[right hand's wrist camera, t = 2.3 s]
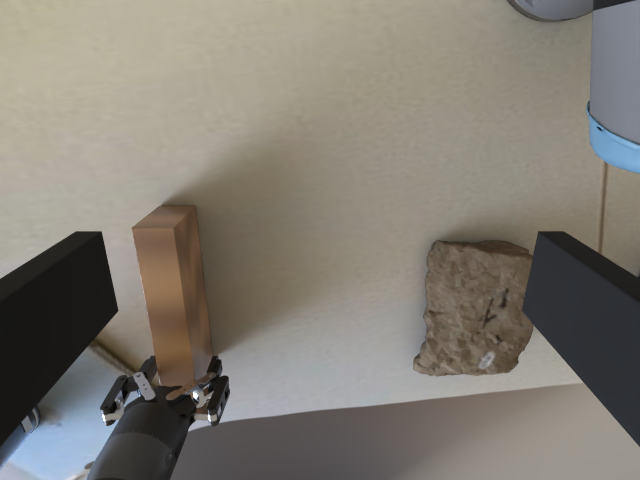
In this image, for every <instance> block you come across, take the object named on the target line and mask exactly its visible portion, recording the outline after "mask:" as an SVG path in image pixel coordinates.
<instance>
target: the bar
mask: <svg viewBox="0 0 640 480" xmlns="http://www.w3.org/2000/svg"><path fill="white" fill-rule="evenodd" d="M132 232H133V238H134V243H135V249H136V254H137V260H138V265H139V271H140V276H141V282H142V287H143V292H144V298H145V303H146V309H147V314H148V320H149V325H150V331H151V336H152V342H153V347H154V353H155V358H156V364H157V369H158V375H159V380H160V386H168V387H172V386H184V385H186V384H188V383H189V382H191V381H192V380H194V379H196V380H199V379H200V378H202V377H203V376H205V375H207V374H206V371H207V369H208V366H209V364H210V361H211V359H212V356H213V351H212V343H211V334H210V326H209V317H208V309H207V300H206V292H205V284H204V275H203V267H202V258H201V250H200V241H199V233H198V224H197V216H196V207H195V206H159V207H158V208H156V209H155V210H154V211H152V212H151V213H150V214H149V215H147V216H146V217H145V218H144V219H142V220H141V221H140V222H139V223H137V224H136V225H135V226H133V227H132ZM190 396H191V397H192V398H193V397H194V396H193V392H192V393H190Z"/></svg>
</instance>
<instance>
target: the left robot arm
mask: <svg viewBox="0 0 640 480" xmlns="http://www.w3.org/2000/svg"><path fill="white" fill-rule="evenodd" d="M157 370H158V369H157V364H156V358H155V356H151V357H150V359H147V360H146V361H145V362H144V363H143V365H142V367H141V368H140V370H139V371H138V372H137V373H135V374H134V375H133V376H132V377H128V378H127V376H126V375H122V376H120V377H118V378H117V380H116V381H115V383H114V385H113V387H112V388H111V390H110V392H109V393H108V395H107V397H106V398H105V400H104V402H103V403H102V405H101V407H100V409H101V413H102V417H103V421H104V425H106V426H109V425H112V424H113V423H114V422H115V421H116V420H118V419H120V420H119V422H118V423H117V425H116V427H115V428H114V430H113V432H112V434H111V435H110V437H109V439H108V440H107V442H106V444H105V445H104V447H103V449H102V450H101V452H100V454H99V455H98V457H97V458H96V460H95V462H94V464H93V466H92V468H91V469H90V472H89V474H88V476H87V479H86V480H170V478H171V475H172V472H173V470H174V467H175V465H176V462H177V459H178V457H179V454H180V452H181V449H182V446H183V444H184V441H185V438H186V435H187V432H188V429H189V427H190V426H191V424H192V423H194V422H195V421H196V420H209V425H210V426H216V425H218V423H219V421H220V419H221V416H222V413H223V411H224V408H225V405H226V403H227V400H228V397H229V395H230V389H229V378H228V376H221V373H222V362H221V360H219V358H218V356H212V359H211V361H210V364H209V366H208V369H207V371H206V374H207V375H205V376H203V377H202V378H200V379H199V380H196V379H194V380H192V381H191V382H189V383H188V384H186V385H184V386H172V387H168V386H157V387H156V388H153V389H152V388H151V386H150V383H151V381H152V379H153V377H154V376H155V374H156V372H157ZM220 376H221V377H220ZM206 385H207V387H206V388H205V389H204V390H203V388H204V387H205V386H206ZM132 391H136V392H137V394H138V396H139V397H138V398H137V399H135V400H134V401H132V402H130V403H129V404H128V405H127V406H126V407H124V404H125V402H126V400H127V398H128V396H129V394H130V392H132ZM192 392H193V396H194V397H193V399H192V397H191V396H190V393H192ZM211 395H212V396H211ZM210 396H211V399H207V398H208V397H210ZM206 399H207V400H206ZM205 400H206V403H205V404H204V402H205ZM203 404H204V405H203ZM202 405H203V406H202ZM200 406H202V407H200ZM199 407H200V408H199ZM39 420H40V416H39V412H38V410H37V408H36V406H35V407H34V409H33V410H32V411H31V412H30V413H29V414H28V415H27V417H26V418H25V419H24V420H23V421H22V422H21V423H20V425H19V426H18V427H17V428H16V429H15V430H14V432H13V433H12V434H11V435H10V436H9V437H8V438H7V440H6V441H5V442H4V443H3V444H2V445H1V446H0V470H1V469H2V467H3V466H4V465H5V464H6V463H7V461H8V460H9V459H10V458H11V456H12V455H13V454H14V453H15V452H16V450H17V449H18V448H19V447H20V446H21V444H22V443H23V442H24V441H25V439H26V438H27V437H28V436H29V434H30V433H32V432H33V431H34V429H35V428H36V427H37V425H38V424H39Z"/></svg>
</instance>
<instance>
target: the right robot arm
mask: <svg viewBox="0 0 640 480" xmlns="http://www.w3.org/2000/svg"><path fill="white" fill-rule="evenodd" d="M507 1H508V2H509V3H510V4H511V6H513V7H514V8H515V9H516V10H517V11H518V12H520V13H521V14H523V15H524V16H526V17H528V18H531V19H533V20H537V21H542V22H560V21H566V20H570V19H574V18H578V17H581V16H584V15H586V14H589V13H591V12H593V16H592V49H591V82H590V101H589V102H588V104H587V110H586V111H587V114H588V118H589V129H590V144H591V146H592V148H593V150H594V152H595V153H596V155H597V156H598V157H599V158H601V159H602V160H604V161H605V162H607V163H609V164H611V165H613V166H615V167H618V168H621V169H624V170H627V171H631V172H635V173H640V0H507ZM117 312H118V307H117V302H116V297H115V292H114V288H113V283H112V278H111V274H110V269H109V264H108V259H107V255H106V250H105V245H104V241H103V236H102V231H76V232H75V233H73V234H71V235H70V236H68V237H67V238H65V239H63V240H62V241H60V242H59V243H57V244H55V245H54V246H52V247H51V248H49V249H47V250H46V251H44V252H43V253H41V254H39V255H38V256H36V257H35V258H33V259H31V260H30V261H28V262H27V263H25V264H23V265H22V266H20V267H19V268H17V269H15V270H14V271H12V272H11V273H9V274H7V275H6V276H4V277H3V278H1V279H0V446H1V445H2V444H3V443H4V442H5V441H6V440H7V438H8V437H9V436H10V435H11V434H12V433H13V432H14V430H15V429H16V428H17V427H18V426H19V425H20V423H21V422H22V421H23V420H24V419H25V418H26V417H27V415H28V414H29V413H30V412H31V411H32V410H33V409H34V407H35V406H36V405H37V404H38V403H39V402H40V400H41V399H42V398H43V397H44V396H45V395H46V394H47V392H48V391H49V390H50V389H51V388H52V387H53V386H54V384H55V383H56V382H57V381H58V380H59V379H60V377H61V376H62V375H63V374H64V373H65V372H66V371H67V369H68V368H69V367H70V366H71V365H72V364H73V363H74V361H75V360H76V359H77V358H78V357H79V356H80V354H81V353H82V352H83V351H84V350H85V349H86V348H87V346H88V345H89V344H90V343H91V342H92V341H93V340H94V338H95V337H96V336H97V335H98V334H99V333H100V331H101V330H102V329H103V328H104V327H105V326H106V325H107V323H108V322H109V321H110V320H111V319H112V318H113V317H114V315H115V314H116V313H117ZM522 312H523V313H524V314H525V315H526V317H527V318H528V319H529V320H530V321H531V322H532V323H533V325H534V326H535V327H536V328H537V329H538V330H539V331H540V333H541V334H542V335H543V336H544V337H545V338H546V340H547V341H548V342H549V343H550V344H551V345H552V346H553V348H554V349H555V350H556V351H557V352H558V353H559V354H560V356H561V357H562V358H563V359H564V360H565V361H566V363H567V364H568V365H569V366H570V367H571V368H572V369H573V371H574V372H575V373H576V374H577V375H578V376H579V377H580V379H581V380H582V381H583V382H584V383H585V384H586V386H587V387H588V388H589V389H590V390H591V391H592V392H593V394H594V395H595V396H596V397H597V398H598V399H599V400H600V402H601V403H602V404H603V405H604V406H605V407H606V409H607V410H608V411H609V412H610V413H611V414H612V415H613V417H614V418H615V419H616V420H617V421H618V422H619V423H620V425H621V426H622V427H623V428H624V429H625V430H626V431H627V433H628V434H629V435H630V436H631V437H632V438H633V440H634V441H635V442H636V443H637V444H638V445H639V446H640V279H639V278H637V277H636V276H634V275H633V274H631V273H629V272H628V271H626V270H625V269H623V268H621V267H620V266H618V265H617V264H615V263H613V262H612V261H610V260H609V259H607V258H605V257H604V256H602V255H601V254H599V253H597V252H596V251H594V250H593V249H591V248H589V247H588V246H586V245H585V244H583V243H581V242H580V241H578V240H577V239H575V238H573V237H572V236H570V235H569V234H567V233H565V232H564V231H538V236H537V241H536V245H535V250H534V255H533V259H532V264H531V269H530V274H529V278H528V283H527V288H526V292H525V297H524V302H523V307H522Z"/></svg>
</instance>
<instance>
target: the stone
mask: <svg viewBox="0 0 640 480" xmlns="http://www.w3.org/2000/svg"><path fill="white" fill-rule="evenodd" d="M532 259H533V256H532V255H530V254H529V250H527V249H525V248H522V247H519V246H516V245H513V244H511V243H509V242H504V241H484V242H479V243H469V242H447V241H440V240H438V241H436V242H435V243H433V245H432V249H431V250H430V251H429V254H428V257H427V267H428V269H429V272H428V273H427V275H426V279H425V287H426V299H427V307H426V310H425V313H424V315H423V318H424V320H425V322H426V324H427V332H426V337H425V338H426V341H425V342H424V343H423V344H422V346H421V349H420V354H418V355H417V356H416V357H415V358H414V363H413V369H414V370H415V371H417V372H419V373H422V374H428V375H430V376H431V375H435V376H445V375H459V374H469V375H474V376H478V375H483V374H499V373H508V372H510V371H511V370H512V369H514V367H515V366H516V365H517V364H518V363H519V362H518V356H519V355H520V353H521V352H522V351H523V350H525V347H526V345H527V344H528V342H529V340H530V338H531V334H532V331H533V323H532V322H531V321H530V320H529V319H528V318H527V317H526V315H525V314H524V313H523V312H522V307H523V302H524V299H523V295H524V294H525V292H526V288H527V283H528V278H529V274H530V269H531V264H532Z"/></svg>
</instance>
